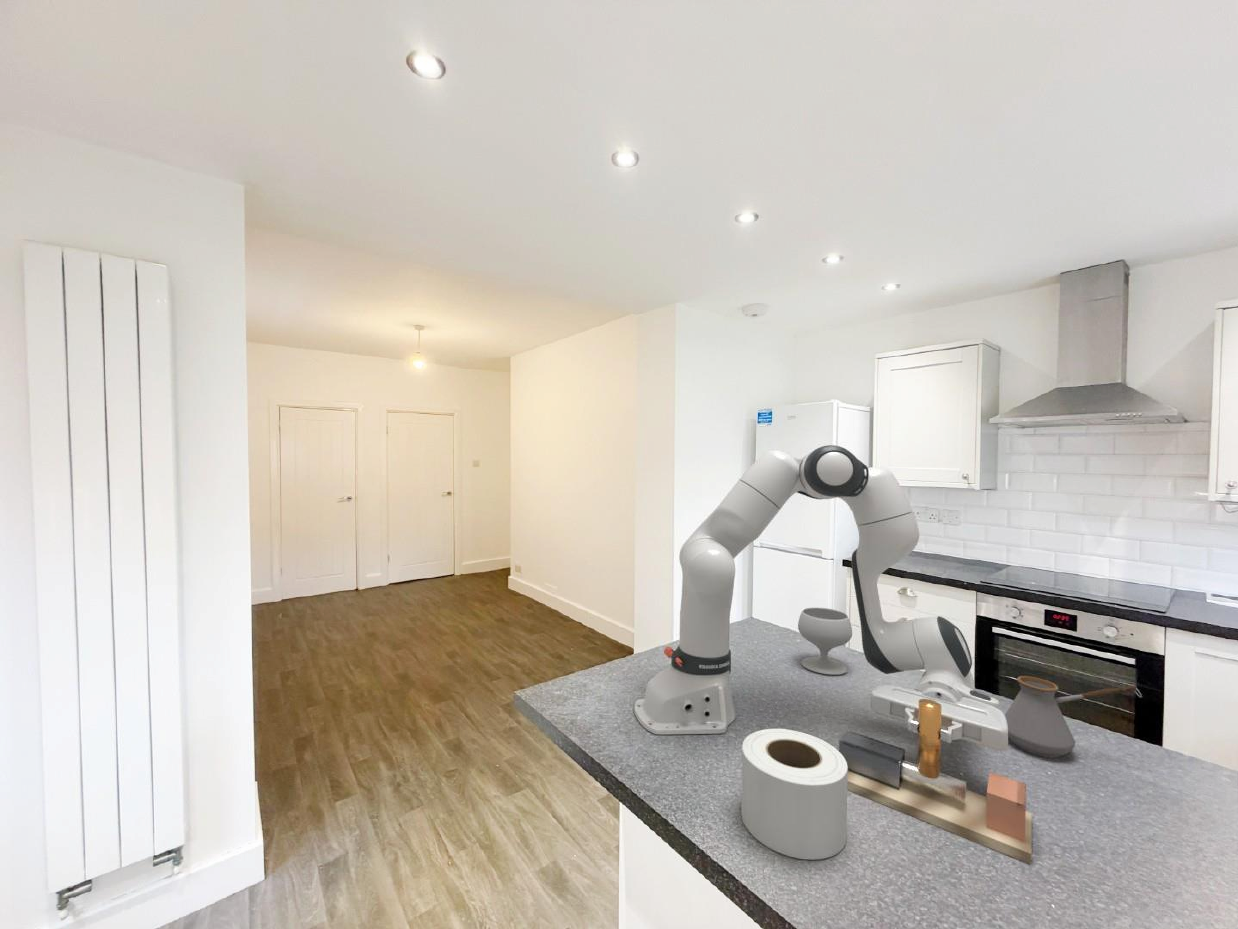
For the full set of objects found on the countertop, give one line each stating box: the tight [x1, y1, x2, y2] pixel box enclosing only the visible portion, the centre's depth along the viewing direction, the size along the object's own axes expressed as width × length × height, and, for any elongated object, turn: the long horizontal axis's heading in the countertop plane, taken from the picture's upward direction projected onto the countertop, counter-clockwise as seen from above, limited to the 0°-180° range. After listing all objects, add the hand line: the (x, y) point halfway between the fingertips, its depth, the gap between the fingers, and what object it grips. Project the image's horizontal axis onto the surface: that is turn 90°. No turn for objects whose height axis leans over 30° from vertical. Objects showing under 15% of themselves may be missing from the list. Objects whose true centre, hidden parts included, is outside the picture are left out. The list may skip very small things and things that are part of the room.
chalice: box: [797, 607, 853, 676], centre depth 138 cm, size 14×14×15 cm
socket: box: [986, 771, 1027, 842], centre depth 76 cm, size 4×7×5 cm
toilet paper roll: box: [740, 728, 848, 860], centre depth 77 cm, size 16×15×11 cm
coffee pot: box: [1004, 675, 1143, 758], centre depth 98 cm, size 21×12×15 cm, turn 67°
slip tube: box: [900, 699, 967, 803], centre depth 84 cm, size 16×3×14 cm, turn 50°
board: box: [847, 771, 1032, 865], centre depth 82 cm, size 27×11×2 cm, turn 50°
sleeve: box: [838, 729, 906, 790], centre depth 88 cm, size 10×5×5 cm, turn 50°
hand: (928, 732), depth 81 cm, fingers closed on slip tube, 3 cm apart
